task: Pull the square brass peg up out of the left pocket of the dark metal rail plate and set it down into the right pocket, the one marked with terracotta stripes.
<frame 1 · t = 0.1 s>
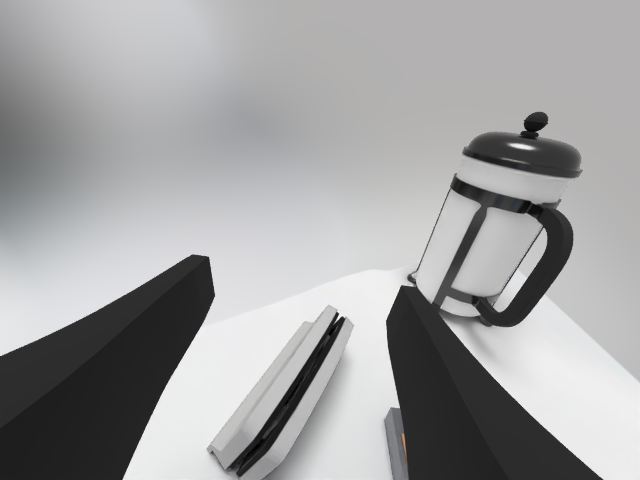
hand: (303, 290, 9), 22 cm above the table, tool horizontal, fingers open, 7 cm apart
coffee press: (450, 306, 43), on the table
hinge: (291, 394, 27), on the table
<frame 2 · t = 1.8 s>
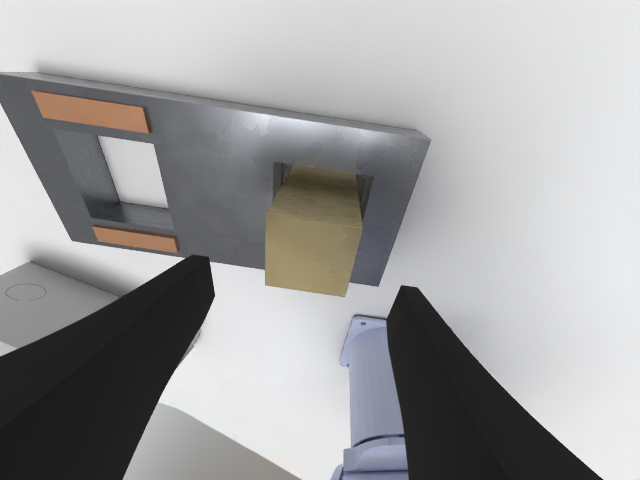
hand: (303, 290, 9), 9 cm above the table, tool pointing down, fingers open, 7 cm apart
rail plate: (234, 184, 17), on the table
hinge: (122, 301, 25), on the table
brass peg: (320, 197, 17), resting in rail plate
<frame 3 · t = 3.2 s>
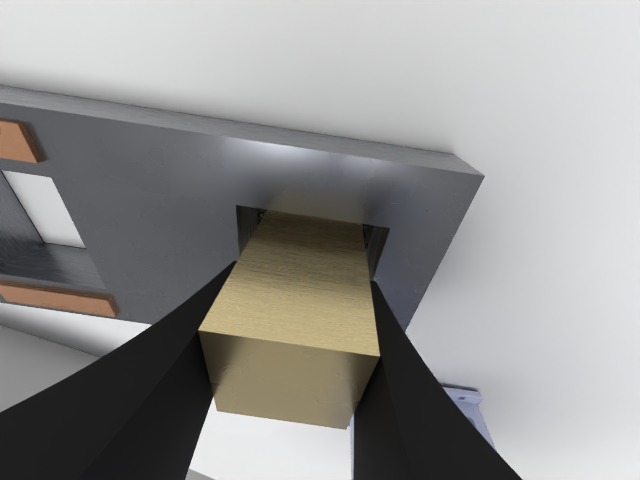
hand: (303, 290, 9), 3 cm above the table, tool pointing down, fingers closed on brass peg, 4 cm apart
rail plate: (192, 223, 12), on the table
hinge: (72, 349, 21), on the table
brass peg: (312, 241, 12), resting in rail plate, touching gripper
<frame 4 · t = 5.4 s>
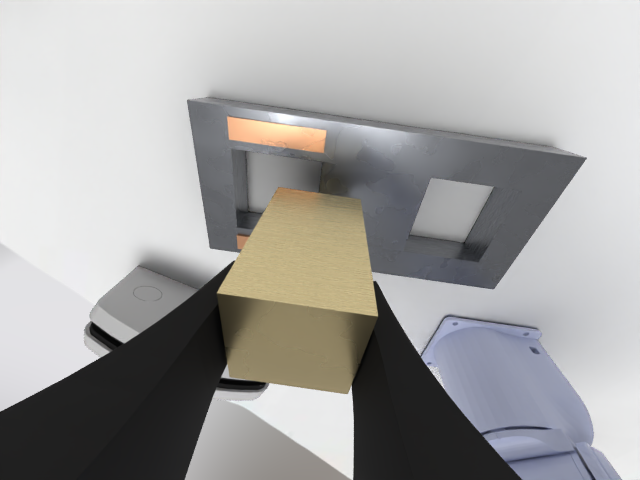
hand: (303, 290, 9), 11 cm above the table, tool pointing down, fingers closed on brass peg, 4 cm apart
rail plate: (363, 195, 18), on the table
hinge: (216, 301, 27), on the table
brass peg: (314, 228, 13), point 6 cm above the table, touching gripper
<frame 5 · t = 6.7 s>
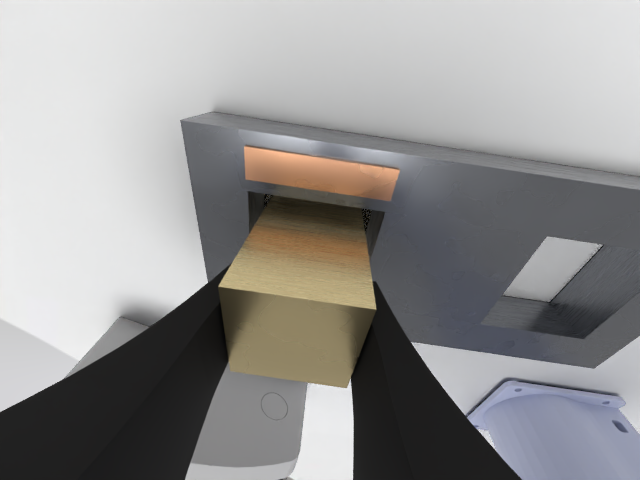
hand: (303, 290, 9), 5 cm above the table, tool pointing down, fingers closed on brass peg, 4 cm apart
rail plate: (424, 244, 13), on the table
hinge: (219, 353, 22), on the table
brass peg: (314, 226, 13), resting in rail plate, touching gripper
when the fingers open (4 cm above the table, at t = 7.6 s): brass peg stays where it is, resting in rail plate.
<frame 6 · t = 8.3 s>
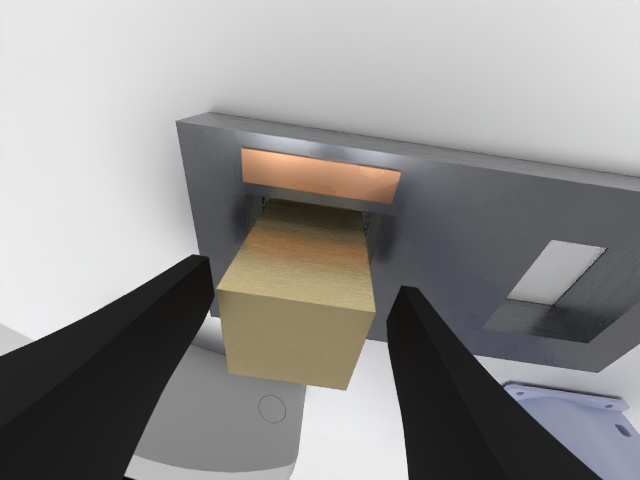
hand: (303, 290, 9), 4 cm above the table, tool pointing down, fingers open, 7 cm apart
rail plate: (425, 247, 13), on the table
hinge: (216, 355, 21), on the table
brass peg: (314, 226, 13), resting in rail plate
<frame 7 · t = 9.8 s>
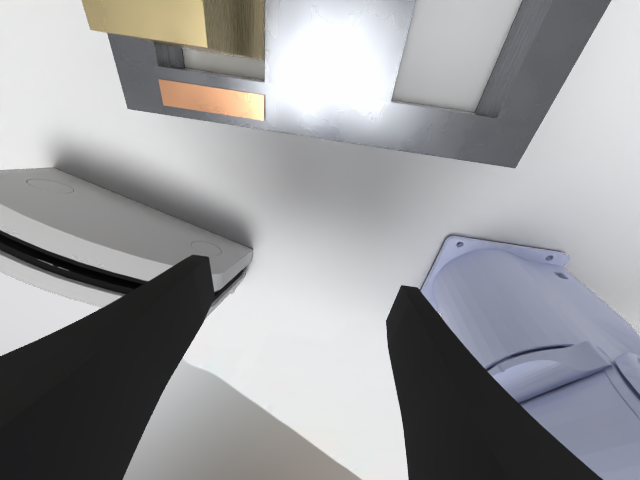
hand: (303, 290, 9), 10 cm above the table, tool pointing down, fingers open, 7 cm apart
rail plate: (337, 30, 13), on the table
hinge: (161, 220, 21), on the table
brass peg: (226, 8, 13), resting in rail plate
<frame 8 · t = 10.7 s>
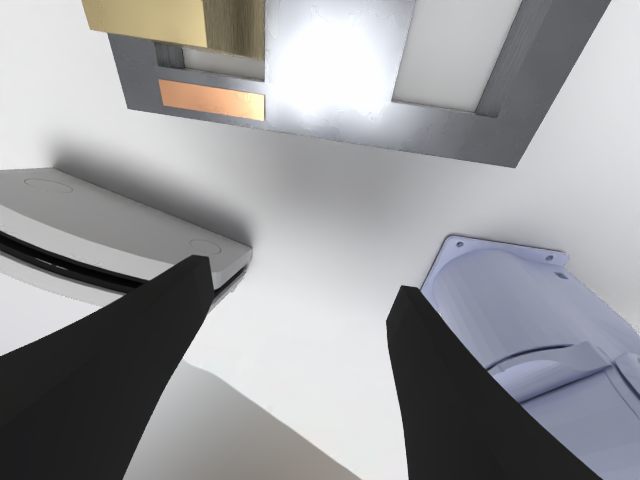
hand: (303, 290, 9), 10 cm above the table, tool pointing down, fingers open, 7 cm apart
rail plate: (337, 30, 13), on the table
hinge: (160, 219, 21), on the table
brass peg: (226, 8, 13), resting in rail plate
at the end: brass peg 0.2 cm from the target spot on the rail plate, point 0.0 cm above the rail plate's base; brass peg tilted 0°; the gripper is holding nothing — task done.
